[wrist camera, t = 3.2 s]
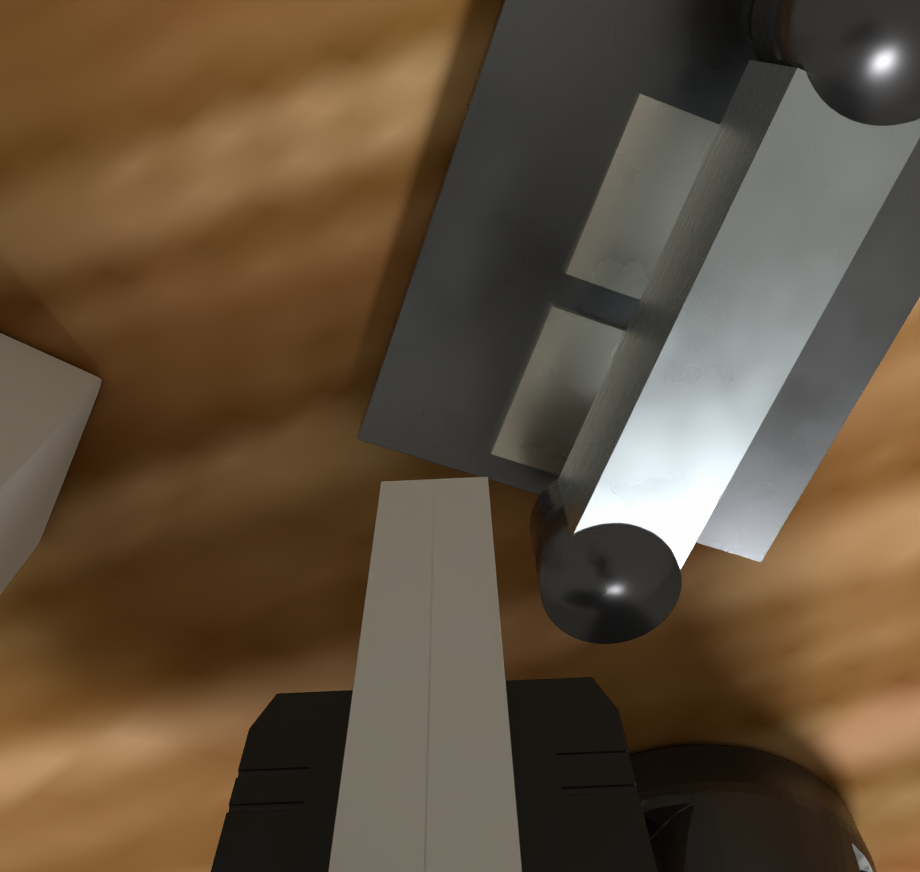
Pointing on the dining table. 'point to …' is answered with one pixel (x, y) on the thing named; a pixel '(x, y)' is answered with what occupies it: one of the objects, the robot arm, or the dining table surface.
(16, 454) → the milk carton
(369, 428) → the plate
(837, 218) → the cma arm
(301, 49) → the dining table surface
